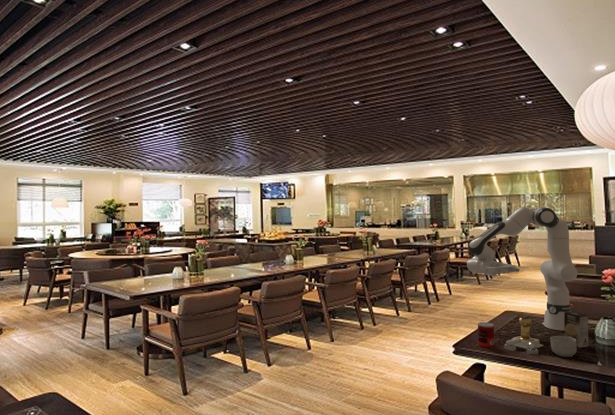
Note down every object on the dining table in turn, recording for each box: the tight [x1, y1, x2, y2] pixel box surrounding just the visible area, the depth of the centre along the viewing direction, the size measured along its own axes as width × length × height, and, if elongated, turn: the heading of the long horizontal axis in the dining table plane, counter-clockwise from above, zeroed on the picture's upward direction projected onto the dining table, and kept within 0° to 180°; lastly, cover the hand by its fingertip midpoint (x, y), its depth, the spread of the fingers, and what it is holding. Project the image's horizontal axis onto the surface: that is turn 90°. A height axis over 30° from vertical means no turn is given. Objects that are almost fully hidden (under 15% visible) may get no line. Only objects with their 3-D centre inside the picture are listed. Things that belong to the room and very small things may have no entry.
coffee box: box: [563, 310, 589, 348], centre depth 219 cm, size 9×6×16 cm
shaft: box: [525, 340, 539, 356], centre depth 209 cm, size 9×4×4 cm, turn 166°
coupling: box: [518, 314, 532, 341], centre depth 218 cm, size 6×6×14 cm
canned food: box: [477, 321, 495, 349], centre depth 218 cm, size 8×8×11 cm
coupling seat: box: [503, 335, 545, 352], centre depth 216 cm, size 20×12×4 cm, turn 121°
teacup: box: [549, 335, 578, 358], centre depth 204 cm, size 14×11×8 cm
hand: (513, 270), depth 240 cm, fingers open, 8 cm apart
